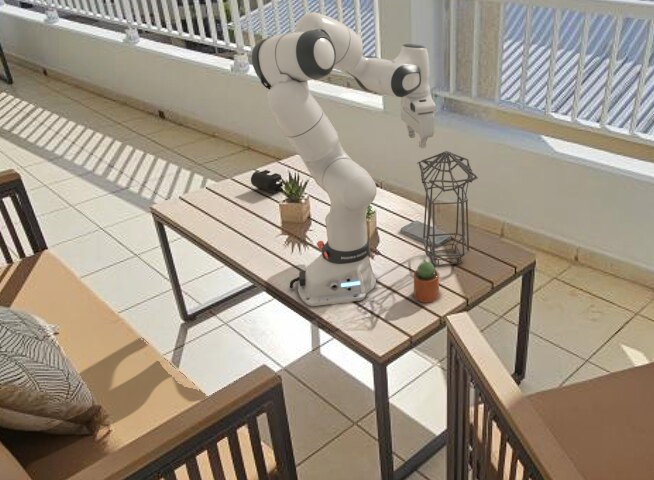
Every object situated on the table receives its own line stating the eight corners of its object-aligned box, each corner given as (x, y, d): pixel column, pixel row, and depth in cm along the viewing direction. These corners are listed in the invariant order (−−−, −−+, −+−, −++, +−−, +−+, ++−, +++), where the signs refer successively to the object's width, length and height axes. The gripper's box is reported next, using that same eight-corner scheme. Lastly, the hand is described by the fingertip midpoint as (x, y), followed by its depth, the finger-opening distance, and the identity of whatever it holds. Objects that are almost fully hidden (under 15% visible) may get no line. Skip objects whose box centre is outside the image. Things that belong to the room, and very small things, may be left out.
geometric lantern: (418, 247, 197) (415, 143, 179) (466, 243, 198) (469, 140, 180) (424, 273, 184) (422, 164, 166) (476, 269, 185) (480, 161, 167)
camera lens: (252, 190, 235) (249, 174, 232) (266, 183, 240) (263, 167, 236) (270, 196, 230) (267, 180, 227) (284, 190, 235) (281, 173, 231)
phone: (435, 248, 196) (435, 244, 196) (399, 232, 206) (399, 228, 205) (452, 238, 201) (452, 235, 201) (416, 223, 211) (416, 219, 210)
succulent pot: (419, 304, 171) (418, 272, 165) (410, 291, 176) (409, 259, 171) (442, 299, 173) (442, 266, 167) (433, 286, 178) (433, 254, 173)
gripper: (394, 91, 195) (396, 132, 202) (418, 110, 178) (419, 155, 186) (413, 88, 197) (414, 129, 204) (438, 107, 180) (438, 151, 187)
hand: (417, 142), depth 195 cm, fingers open, 8 cm apart
